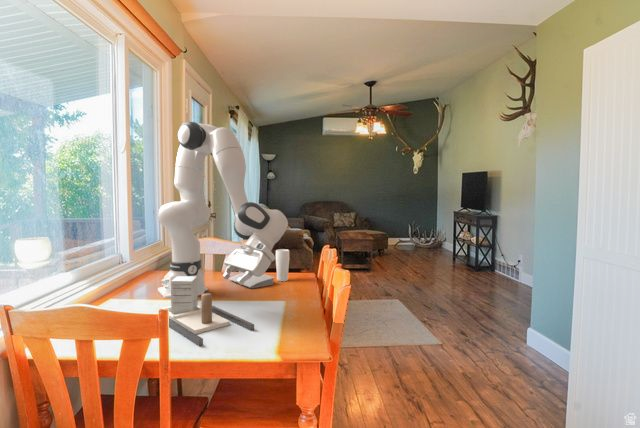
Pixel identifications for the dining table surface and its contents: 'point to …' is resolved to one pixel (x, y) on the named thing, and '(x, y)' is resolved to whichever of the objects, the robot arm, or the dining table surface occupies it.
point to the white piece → (282, 264)
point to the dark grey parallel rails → (218, 311)
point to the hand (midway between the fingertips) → (231, 280)
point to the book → (255, 280)
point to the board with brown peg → (200, 317)
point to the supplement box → (184, 294)
